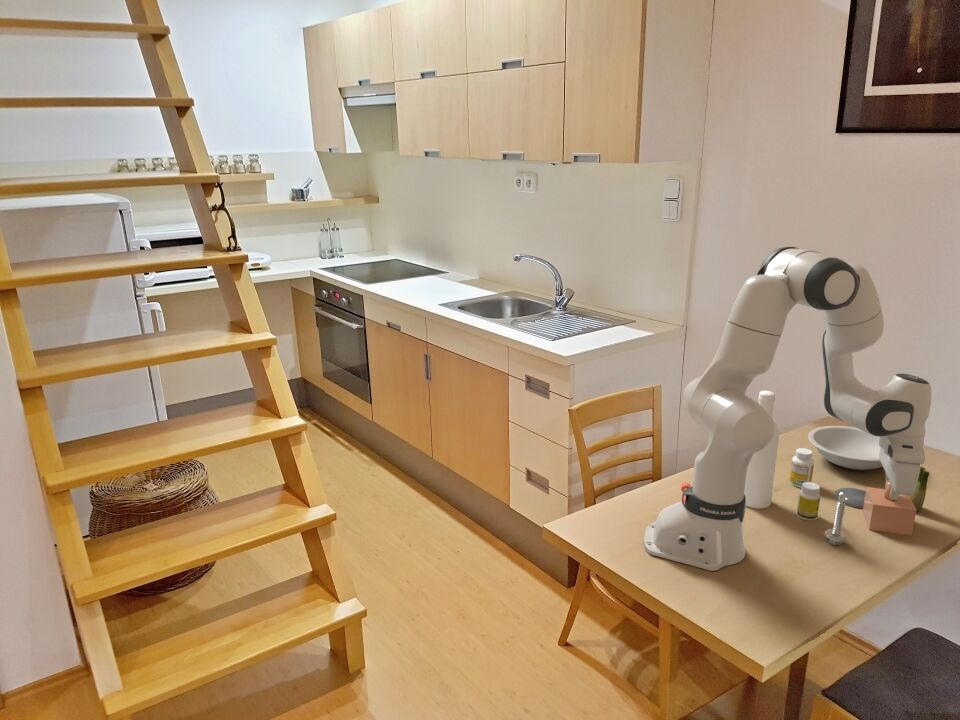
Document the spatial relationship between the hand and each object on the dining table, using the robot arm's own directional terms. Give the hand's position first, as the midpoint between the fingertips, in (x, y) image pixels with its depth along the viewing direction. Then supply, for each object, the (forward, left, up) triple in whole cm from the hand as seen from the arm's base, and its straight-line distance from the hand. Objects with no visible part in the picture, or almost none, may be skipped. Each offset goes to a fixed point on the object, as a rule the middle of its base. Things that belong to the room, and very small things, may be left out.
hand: (891, 494), depth 171 cm
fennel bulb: (+7, +10, -8) cm, 15 cm away
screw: (-13, -13, -8) cm, 20 cm away
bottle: (-30, +2, -8) cm, 31 cm away
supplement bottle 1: (-18, +16, -8) cm, 25 cm away
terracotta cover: (0, 0, -8) cm, 8 cm away
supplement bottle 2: (-18, -2, -8) cm, 20 cm away
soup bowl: (-3, +34, -8) cm, 35 cm away
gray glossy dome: (-5, +11, -8) cm, 14 cm away
